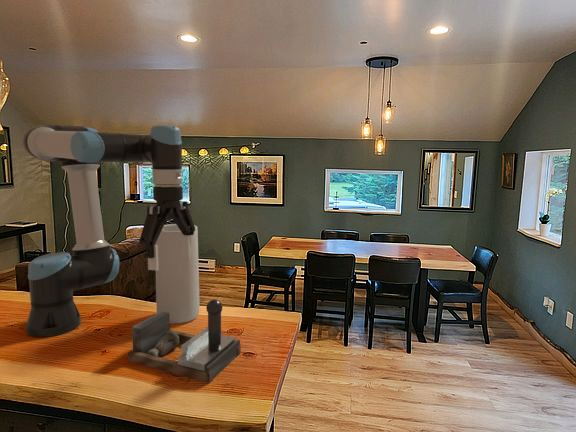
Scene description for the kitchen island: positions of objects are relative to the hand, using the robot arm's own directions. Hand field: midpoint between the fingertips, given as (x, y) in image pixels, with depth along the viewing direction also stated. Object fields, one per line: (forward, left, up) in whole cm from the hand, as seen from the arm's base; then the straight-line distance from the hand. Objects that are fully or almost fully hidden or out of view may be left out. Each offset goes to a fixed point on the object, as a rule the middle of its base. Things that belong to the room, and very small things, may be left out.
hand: (170, 263), depth 107 cm
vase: (-15, +22, -27) cm, 38 cm away
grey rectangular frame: (+4, 0, -27) cm, 27 cm away
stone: (-3, 0, -27) cm, 27 cm away
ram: (+12, 0, -26) cm, 29 cm away
